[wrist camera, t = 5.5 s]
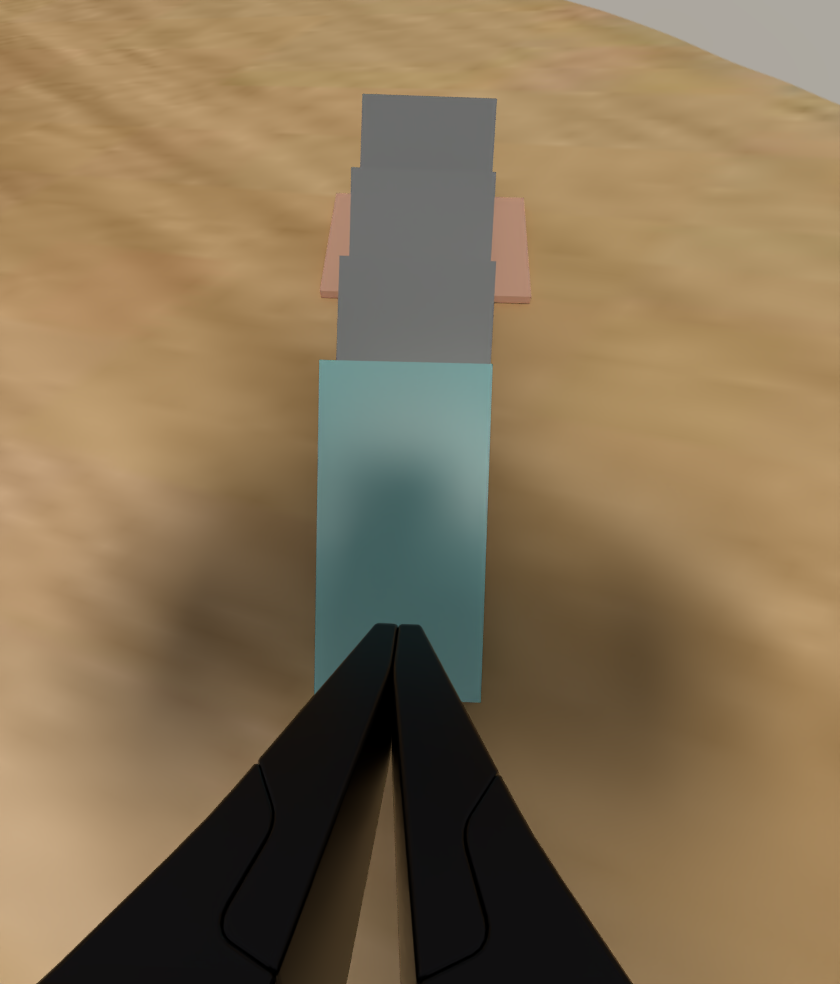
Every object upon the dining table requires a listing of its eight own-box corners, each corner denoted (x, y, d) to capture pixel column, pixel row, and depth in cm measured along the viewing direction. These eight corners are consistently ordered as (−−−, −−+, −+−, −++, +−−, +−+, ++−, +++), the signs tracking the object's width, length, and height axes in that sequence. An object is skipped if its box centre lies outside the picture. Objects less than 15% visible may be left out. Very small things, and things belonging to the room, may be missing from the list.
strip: (529, 303, 21) (531, 296, 21) (321, 297, 21) (319, 290, 21) (522, 205, 24) (523, 197, 24) (337, 200, 24) (336, 193, 24)
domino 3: (479, 570, 15) (496, 261, 14) (330, 563, 15) (339, 255, 14) (474, 560, 16) (489, 281, 16) (339, 553, 17) (348, 275, 16)
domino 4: (480, 702, 13) (492, 364, 13) (314, 696, 13) (319, 359, 13) (474, 677, 15) (485, 375, 14) (326, 672, 15) (331, 371, 14)
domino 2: (479, 462, 16) (496, 172, 15) (344, 456, 17) (351, 167, 15) (474, 460, 18) (489, 197, 17) (351, 455, 18) (358, 192, 17)
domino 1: (479, 374, 18) (496, 98, 16) (354, 368, 18) (362, 93, 17) (475, 379, 19) (491, 128, 18) (360, 374, 19) (368, 124, 18)
